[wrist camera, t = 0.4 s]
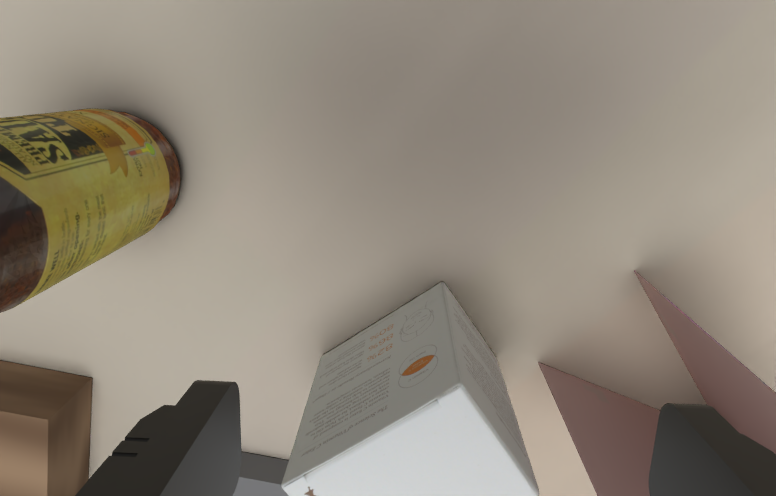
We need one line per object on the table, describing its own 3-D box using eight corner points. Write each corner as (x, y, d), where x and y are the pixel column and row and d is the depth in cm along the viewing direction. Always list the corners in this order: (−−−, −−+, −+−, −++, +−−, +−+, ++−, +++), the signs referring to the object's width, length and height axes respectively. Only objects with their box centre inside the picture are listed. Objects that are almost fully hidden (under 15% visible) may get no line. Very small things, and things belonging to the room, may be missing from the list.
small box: (377, 428, 32) (362, 592, 22) (319, 353, 30) (273, 490, 20) (500, 359, 30) (545, 501, 20) (444, 276, 29) (462, 384, 19)
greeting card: (740, 429, 31) (1027, 738, 16) (616, 487, 32) (781, 818, 18) (650, 261, 28) (898, 454, 14) (519, 332, 30) (622, 573, 15)
